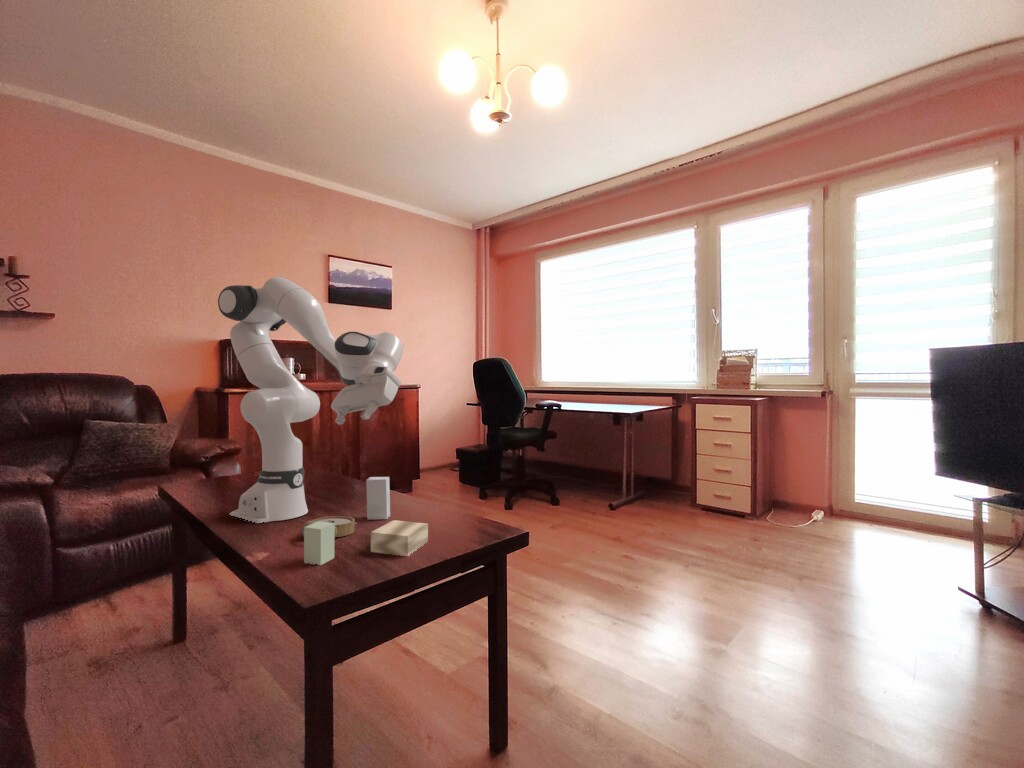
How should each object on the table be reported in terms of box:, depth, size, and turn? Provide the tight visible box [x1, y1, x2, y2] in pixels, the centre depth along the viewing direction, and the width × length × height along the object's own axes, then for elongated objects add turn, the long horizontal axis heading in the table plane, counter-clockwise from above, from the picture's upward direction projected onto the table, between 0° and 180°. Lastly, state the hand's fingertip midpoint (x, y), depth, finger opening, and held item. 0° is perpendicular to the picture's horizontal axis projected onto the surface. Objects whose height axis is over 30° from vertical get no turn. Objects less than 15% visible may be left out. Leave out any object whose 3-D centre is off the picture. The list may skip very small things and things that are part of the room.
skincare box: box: [365, 476, 391, 521], centre depth 134 cm, size 6×4×12 cm
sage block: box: [303, 521, 335, 566], centre depth 101 cm, size 4×4×8 cm
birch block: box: [370, 519, 429, 557], centre depth 110 cm, size 10×10×5 cm
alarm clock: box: [299, 515, 358, 539], centre depth 119 cm, size 11×5×15 cm
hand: (351, 420), depth 115 cm, fingers open, 8 cm apart
